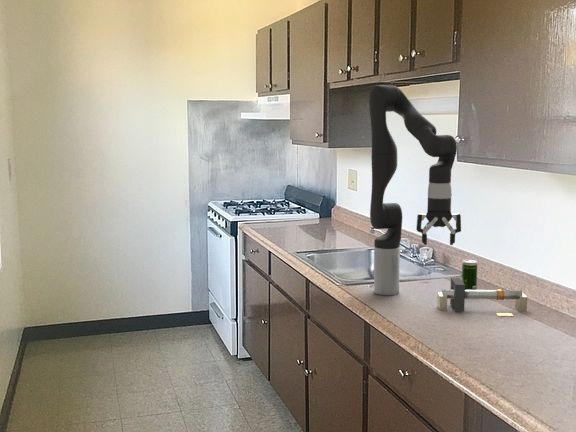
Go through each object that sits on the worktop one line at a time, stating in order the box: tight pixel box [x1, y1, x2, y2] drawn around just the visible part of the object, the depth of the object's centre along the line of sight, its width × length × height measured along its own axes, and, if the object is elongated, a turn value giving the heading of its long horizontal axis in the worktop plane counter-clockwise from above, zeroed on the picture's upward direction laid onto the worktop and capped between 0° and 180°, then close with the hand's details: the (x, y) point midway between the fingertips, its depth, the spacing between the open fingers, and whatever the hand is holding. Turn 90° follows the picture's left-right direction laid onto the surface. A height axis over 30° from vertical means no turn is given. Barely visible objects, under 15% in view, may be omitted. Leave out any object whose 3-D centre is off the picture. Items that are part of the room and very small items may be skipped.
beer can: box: [461, 259, 478, 290], centre depth 236 cm, size 5×5×12 cm
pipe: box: [436, 288, 528, 318], centre depth 214 cm, size 28×11×7 cm, turn 86°
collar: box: [449, 277, 466, 312], centre depth 217 cm, size 3×9×9 cm, turn 176°
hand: (438, 244), depth 215 cm, fingers open, 8 cm apart
